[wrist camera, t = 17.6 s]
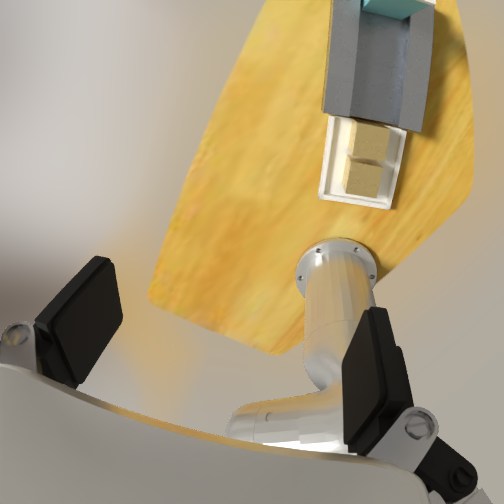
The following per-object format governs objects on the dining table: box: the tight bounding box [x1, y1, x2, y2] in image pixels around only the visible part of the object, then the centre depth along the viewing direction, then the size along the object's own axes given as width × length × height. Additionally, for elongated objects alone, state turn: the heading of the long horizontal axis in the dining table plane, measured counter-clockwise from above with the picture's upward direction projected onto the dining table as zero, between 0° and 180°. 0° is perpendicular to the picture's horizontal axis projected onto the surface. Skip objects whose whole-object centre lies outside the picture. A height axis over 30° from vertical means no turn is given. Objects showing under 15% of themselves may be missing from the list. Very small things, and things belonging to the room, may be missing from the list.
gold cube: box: [348, 118, 391, 162], centre depth 35 cm, size 4×4×4 cm
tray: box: [318, 115, 407, 210], centre depth 38 cm, size 11×10×2 cm
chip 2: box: [342, 154, 383, 199], centre depth 37 cm, size 4×4×4 cm
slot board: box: [321, 0, 434, 133], centre depth 29 cm, size 18×12×4 cm, turn 176°
